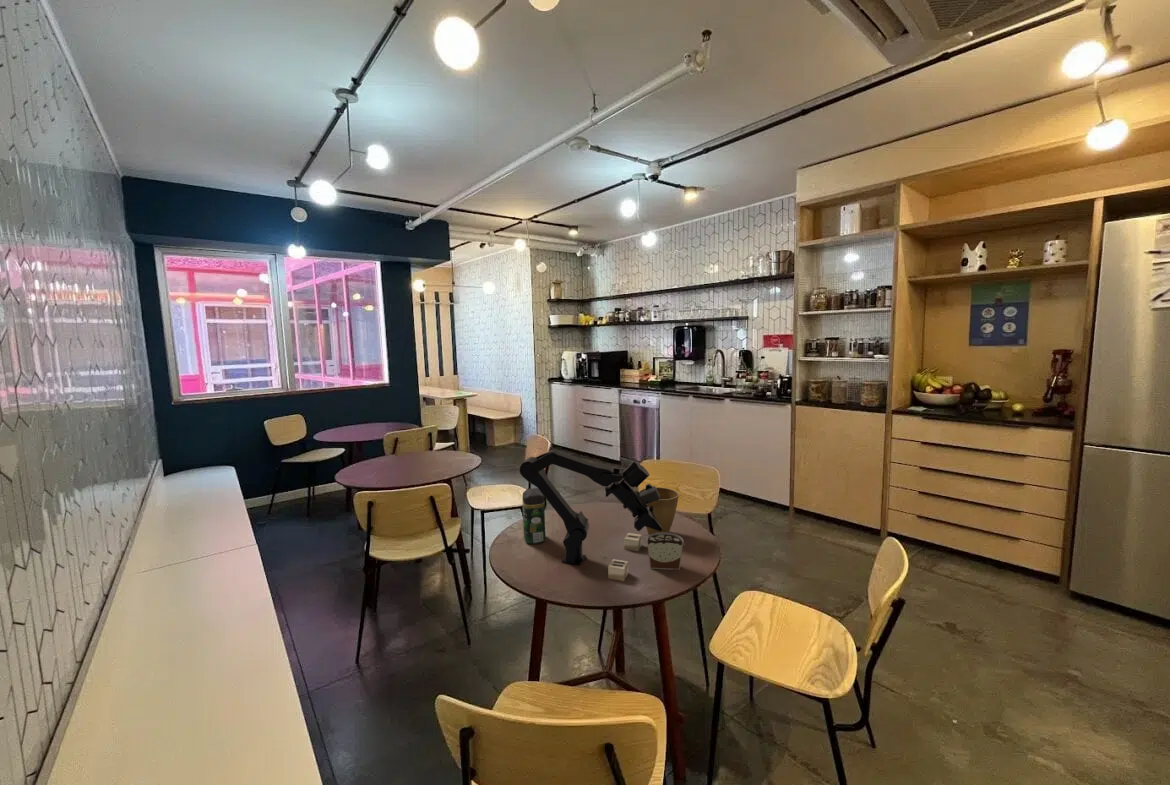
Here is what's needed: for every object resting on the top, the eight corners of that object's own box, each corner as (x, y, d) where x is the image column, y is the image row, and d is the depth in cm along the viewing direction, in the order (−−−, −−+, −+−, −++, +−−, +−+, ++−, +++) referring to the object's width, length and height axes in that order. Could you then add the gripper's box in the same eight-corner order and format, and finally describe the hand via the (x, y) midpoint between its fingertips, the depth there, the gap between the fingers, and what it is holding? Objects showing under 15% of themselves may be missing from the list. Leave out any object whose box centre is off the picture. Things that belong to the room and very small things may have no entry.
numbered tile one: (638, 551, 164) (638, 540, 163) (624, 549, 165) (624, 538, 165) (641, 545, 168) (641, 534, 168) (627, 543, 170) (627, 532, 169)
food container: (682, 560, 156) (682, 531, 155) (684, 569, 150) (684, 539, 149) (644, 559, 157) (645, 530, 156) (645, 568, 151) (645, 538, 150)
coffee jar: (522, 535, 178) (520, 487, 176) (543, 532, 180) (541, 485, 177) (525, 546, 168) (523, 495, 166) (547, 543, 170) (546, 493, 168)
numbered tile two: (623, 581, 144) (623, 568, 143) (608, 578, 145) (608, 565, 145) (628, 573, 148) (628, 561, 148) (612, 571, 150) (612, 558, 150)
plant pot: (685, 539, 173) (686, 497, 171) (648, 544, 168) (648, 501, 166) (667, 524, 187) (667, 485, 185) (632, 528, 183) (632, 488, 181)
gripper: (645, 488, 142) (681, 525, 142) (644, 471, 160) (677, 503, 160) (619, 513, 144) (655, 549, 144) (621, 493, 162) (653, 524, 162)
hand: (661, 530), depth 153 cm, fingers closed
